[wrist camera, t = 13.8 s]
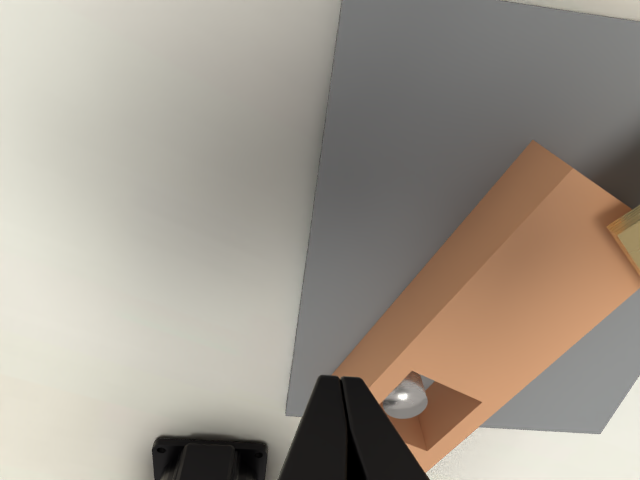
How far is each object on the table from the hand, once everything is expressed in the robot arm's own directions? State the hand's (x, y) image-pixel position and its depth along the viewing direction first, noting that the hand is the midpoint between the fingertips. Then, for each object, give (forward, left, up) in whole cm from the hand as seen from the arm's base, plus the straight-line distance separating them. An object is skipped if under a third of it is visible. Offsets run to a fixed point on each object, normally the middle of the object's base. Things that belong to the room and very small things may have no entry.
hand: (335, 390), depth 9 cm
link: (-6, -7, -11) cm, 14 cm away
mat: (-4, -9, -11) cm, 15 cm away
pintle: (-9, -5, -11) cm, 15 cm away
